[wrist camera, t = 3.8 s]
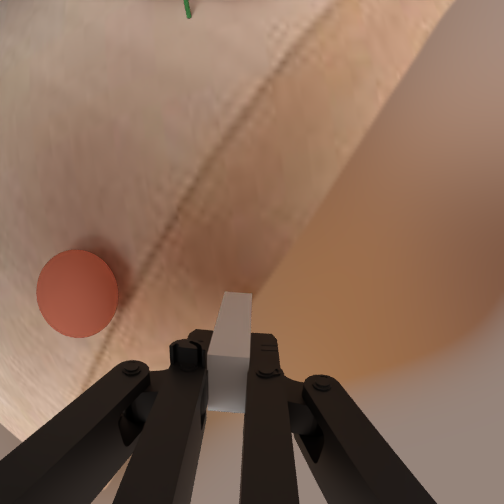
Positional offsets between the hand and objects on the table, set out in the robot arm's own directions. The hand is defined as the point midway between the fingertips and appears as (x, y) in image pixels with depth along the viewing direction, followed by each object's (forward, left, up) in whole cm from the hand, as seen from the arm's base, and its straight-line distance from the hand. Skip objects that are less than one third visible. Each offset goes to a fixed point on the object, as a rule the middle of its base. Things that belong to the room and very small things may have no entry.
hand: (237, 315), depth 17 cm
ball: (0, -10, 0) cm, 10 cm away
